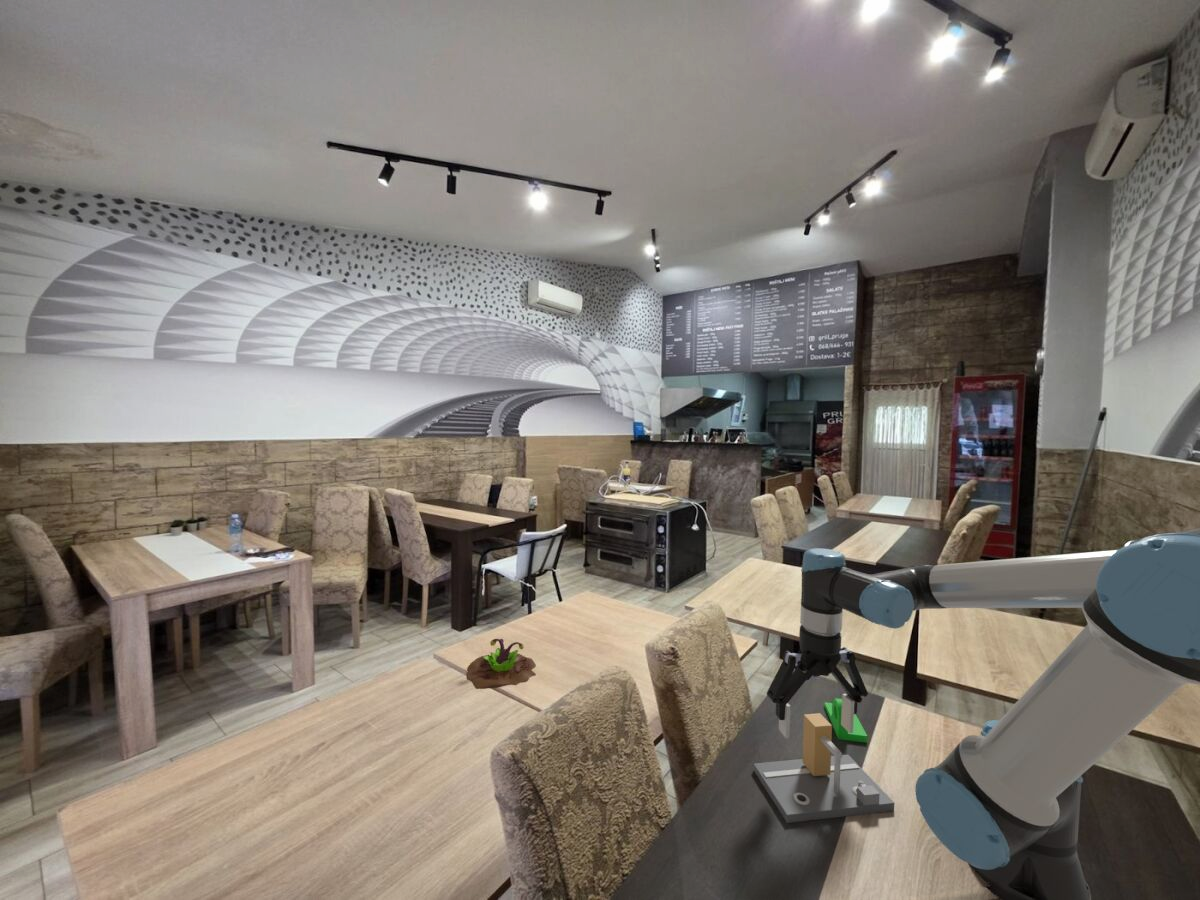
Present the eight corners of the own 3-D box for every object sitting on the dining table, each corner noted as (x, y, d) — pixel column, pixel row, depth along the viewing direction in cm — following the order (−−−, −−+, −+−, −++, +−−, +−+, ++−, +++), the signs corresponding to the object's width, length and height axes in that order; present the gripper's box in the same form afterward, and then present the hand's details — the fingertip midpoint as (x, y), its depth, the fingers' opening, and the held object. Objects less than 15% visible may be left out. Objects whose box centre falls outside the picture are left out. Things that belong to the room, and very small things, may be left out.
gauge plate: (894, 810, 88) (894, 792, 88) (787, 822, 85) (787, 804, 85) (847, 761, 101) (848, 745, 100) (753, 770, 98) (754, 754, 98)
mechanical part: (867, 744, 106) (868, 710, 106) (838, 741, 108) (839, 706, 107) (850, 713, 118) (851, 681, 118) (824, 710, 119) (825, 678, 119)
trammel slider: (846, 794, 89) (848, 742, 89) (829, 795, 89) (831, 743, 88) (818, 760, 98) (819, 713, 98) (802, 762, 98) (803, 714, 97)
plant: (460, 666, 140) (460, 629, 139) (525, 654, 148) (525, 618, 147) (472, 703, 121) (471, 660, 121) (545, 686, 130) (545, 645, 129)
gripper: (865, 617, 100) (860, 715, 101) (752, 622, 96) (748, 723, 98) (891, 633, 92) (885, 738, 94) (770, 640, 89) (766, 749, 90)
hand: (815, 731), depth 96 cm, fingers open, 13 cm apart
